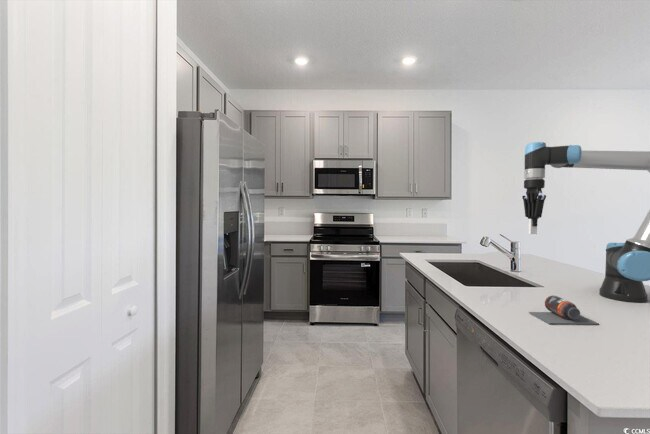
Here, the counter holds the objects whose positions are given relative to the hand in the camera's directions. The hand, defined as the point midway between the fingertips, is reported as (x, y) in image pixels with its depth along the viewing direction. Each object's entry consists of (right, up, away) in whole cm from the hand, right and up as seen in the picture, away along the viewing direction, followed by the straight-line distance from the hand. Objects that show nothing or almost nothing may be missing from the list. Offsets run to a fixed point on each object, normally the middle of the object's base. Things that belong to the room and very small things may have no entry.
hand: (532, 233), depth 142 cm
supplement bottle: (-8, -24, -23) cm, 34 cm away
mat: (-9, -28, -30) cm, 42 cm away
